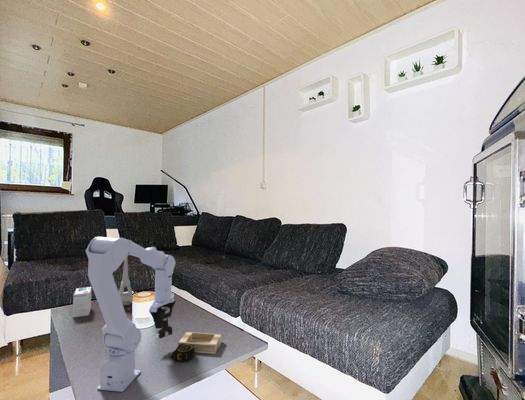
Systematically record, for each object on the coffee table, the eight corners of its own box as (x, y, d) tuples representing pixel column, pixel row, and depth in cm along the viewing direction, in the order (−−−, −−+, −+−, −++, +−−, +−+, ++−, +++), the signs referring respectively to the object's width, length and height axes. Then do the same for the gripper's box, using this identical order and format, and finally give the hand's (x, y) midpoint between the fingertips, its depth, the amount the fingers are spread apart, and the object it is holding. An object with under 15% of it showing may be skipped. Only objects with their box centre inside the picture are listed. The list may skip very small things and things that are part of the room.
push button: (157, 342, 97) (157, 315, 97) (150, 336, 101) (150, 310, 100) (175, 335, 102) (174, 308, 102) (167, 330, 106) (167, 304, 105)
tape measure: (179, 351, 100) (179, 341, 100) (197, 353, 99) (197, 343, 99) (170, 362, 94) (170, 351, 94) (189, 364, 92) (189, 353, 92)
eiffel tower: (110, 313, 134) (111, 250, 134) (110, 304, 146) (111, 246, 146) (140, 308, 141) (141, 249, 141) (138, 300, 152) (139, 245, 152)
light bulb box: (75, 309, 137) (75, 288, 137) (91, 307, 140) (91, 286, 140) (72, 318, 128) (72, 294, 128) (89, 315, 131) (90, 292, 131)
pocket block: (215, 353, 99) (215, 345, 99) (177, 350, 101) (177, 342, 101) (221, 341, 107) (221, 334, 108) (186, 339, 109) (187, 331, 109)
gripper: (164, 294, 94) (163, 334, 94) (181, 282, 109) (181, 317, 108) (144, 293, 95) (144, 333, 95) (164, 281, 109) (164, 316, 109)
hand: (162, 324), depth 102 cm, fingers closed on push button, 5 cm apart
